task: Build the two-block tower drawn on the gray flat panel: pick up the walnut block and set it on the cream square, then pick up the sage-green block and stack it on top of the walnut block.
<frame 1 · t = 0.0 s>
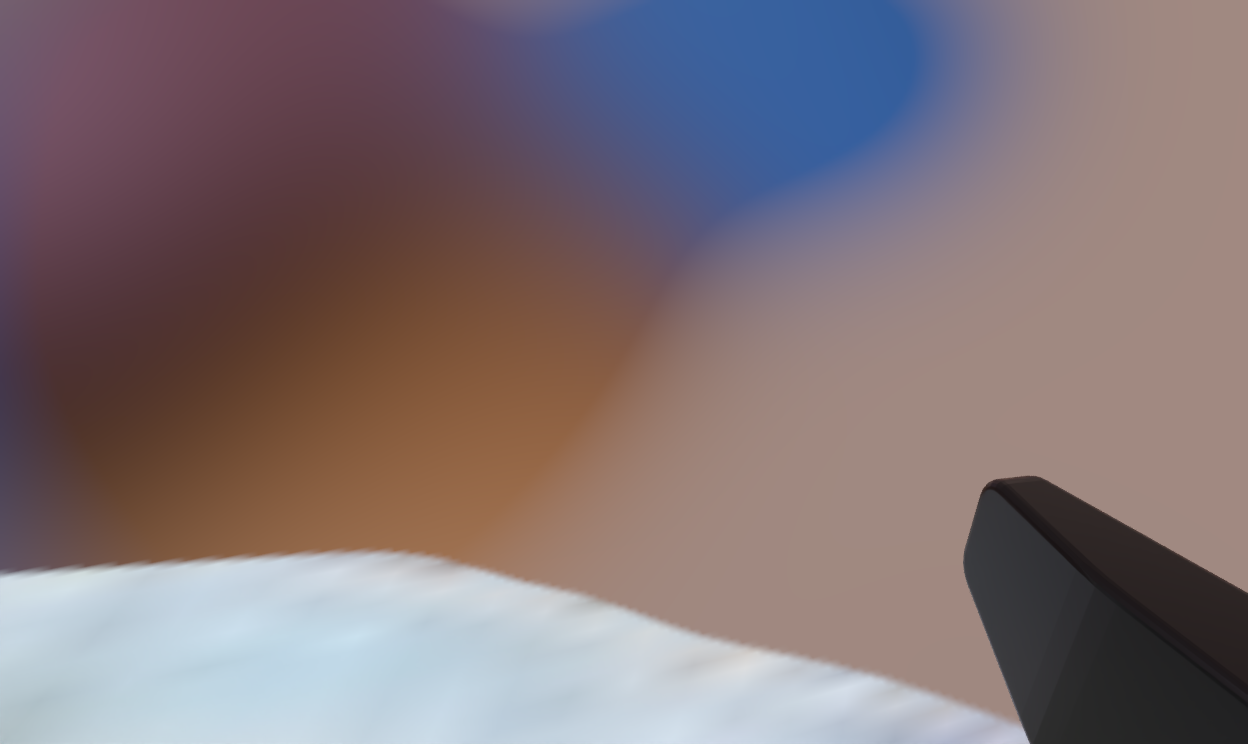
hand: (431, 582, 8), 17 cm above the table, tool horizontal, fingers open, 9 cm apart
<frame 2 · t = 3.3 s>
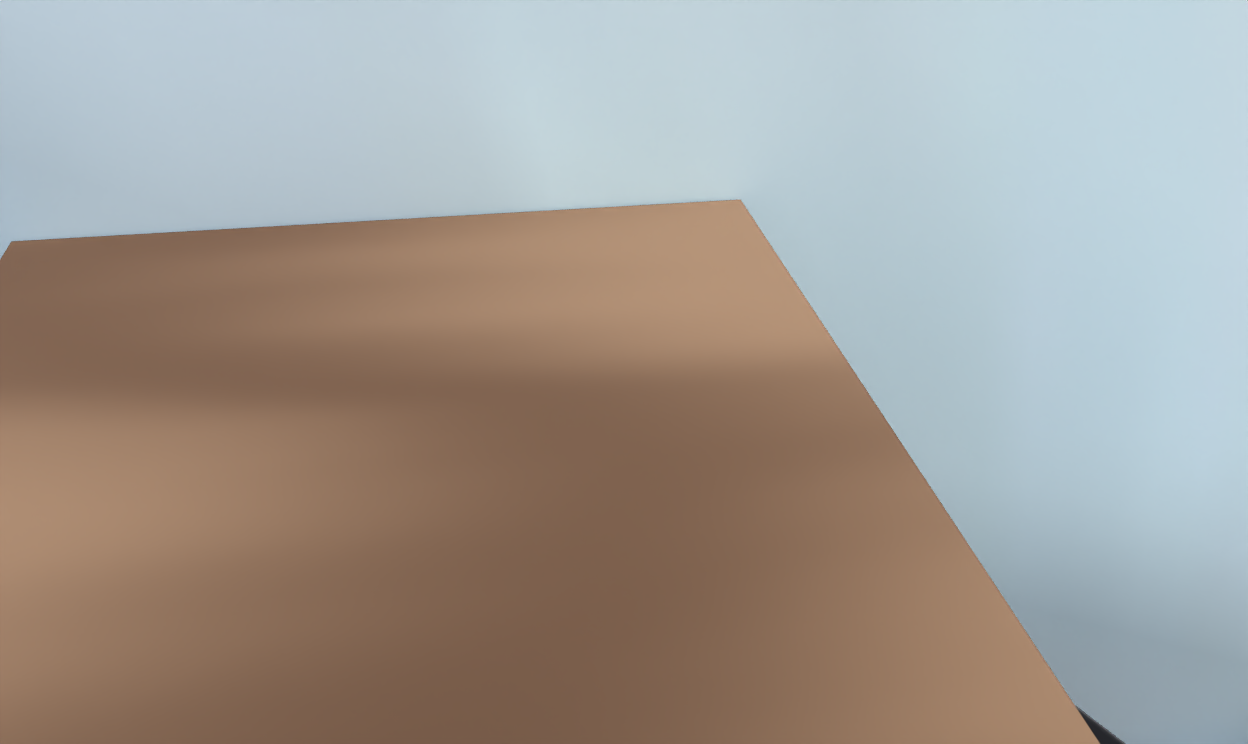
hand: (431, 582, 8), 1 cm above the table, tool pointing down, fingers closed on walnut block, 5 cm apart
walnut block: (425, 491, 9), on the table, touching gripper
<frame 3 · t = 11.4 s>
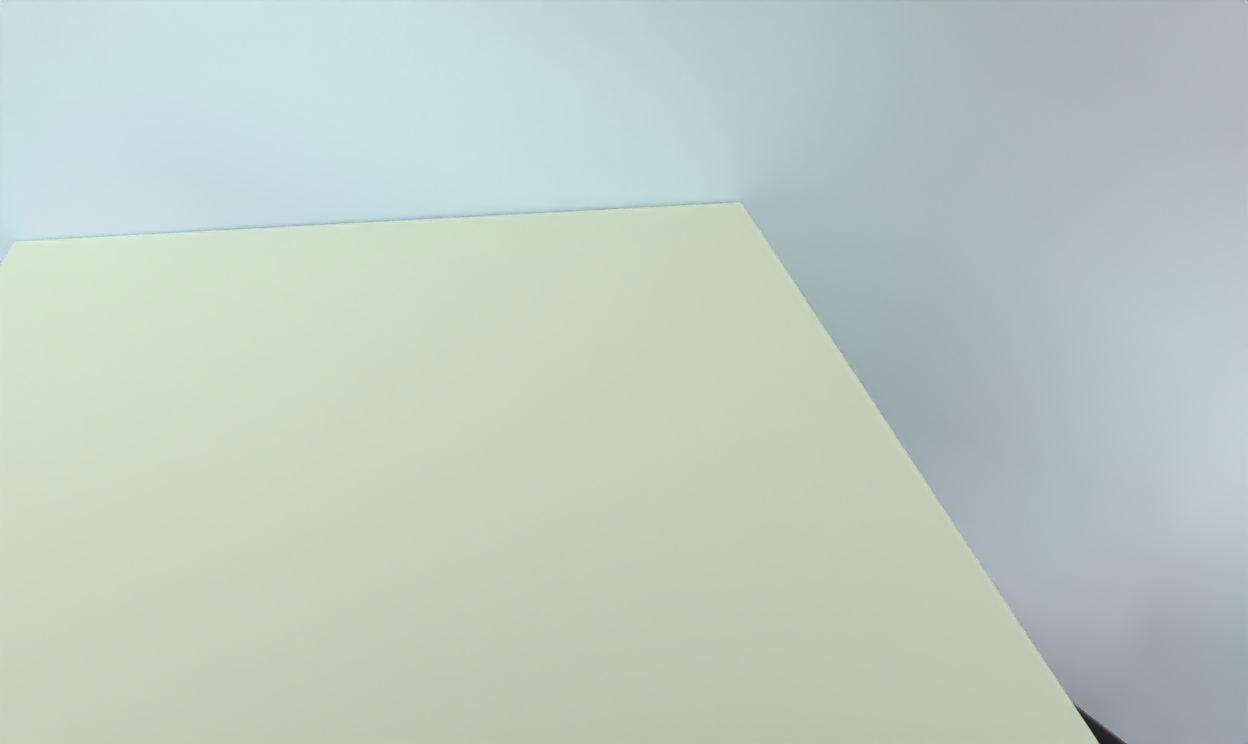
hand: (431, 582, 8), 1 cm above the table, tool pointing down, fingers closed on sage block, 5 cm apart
sage block: (425, 491, 9), on the table, touching gripper
when the fingers open (8 cm above the table, at t = 14.7 s): sage block drops 1 cm, resting on walnut block.
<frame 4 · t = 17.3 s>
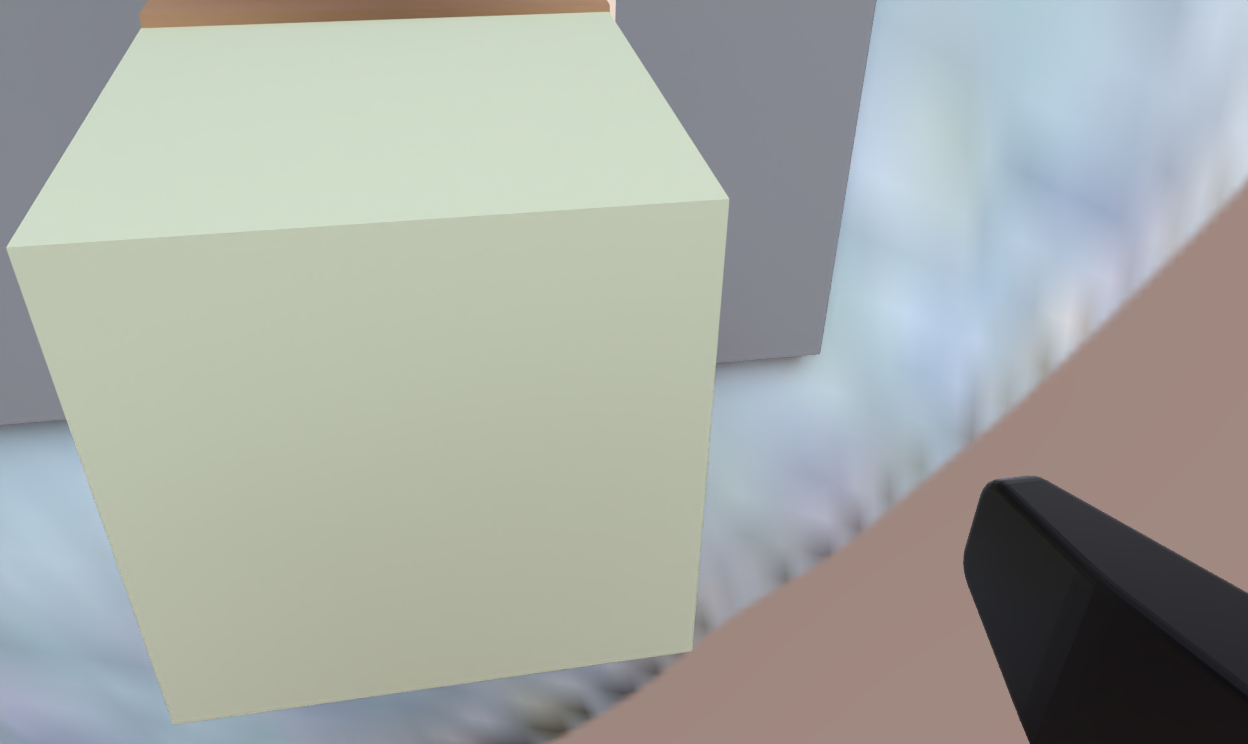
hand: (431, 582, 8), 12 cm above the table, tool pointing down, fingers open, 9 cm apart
walnut block: (396, 81, 17), point 1 cm above the table, touching gray flat panel, sage block
sage block: (406, 226, 13), point 6 cm above the table, touching walnut block
gray flat panel: (265, 10, 17), on the table
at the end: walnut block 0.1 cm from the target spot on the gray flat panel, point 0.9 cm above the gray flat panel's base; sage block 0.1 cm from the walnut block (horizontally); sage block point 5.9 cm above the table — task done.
